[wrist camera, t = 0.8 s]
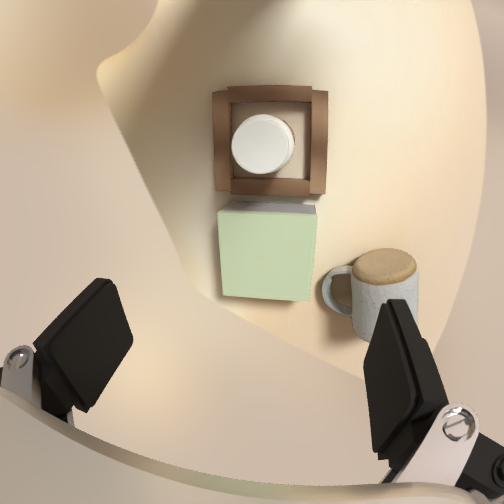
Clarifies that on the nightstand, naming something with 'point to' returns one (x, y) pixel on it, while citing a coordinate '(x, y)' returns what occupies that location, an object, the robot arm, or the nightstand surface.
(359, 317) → the ceramic mug
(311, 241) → the green square block
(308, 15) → the nightstand surface
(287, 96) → the base
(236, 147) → the pill bottle
